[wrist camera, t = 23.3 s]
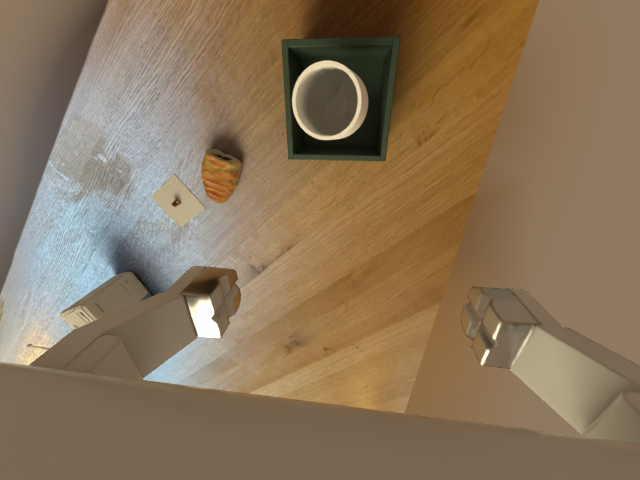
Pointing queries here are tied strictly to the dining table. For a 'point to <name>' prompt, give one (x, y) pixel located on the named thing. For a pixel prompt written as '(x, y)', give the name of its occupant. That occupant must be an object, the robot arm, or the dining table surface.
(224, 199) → the pastry
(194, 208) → the beige flat slab
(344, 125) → the champagne flute
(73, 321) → the radio
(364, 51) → the bin
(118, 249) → the dining table surface
